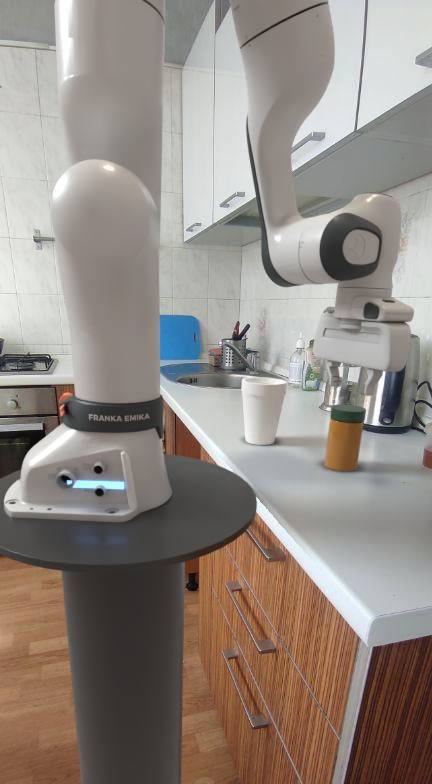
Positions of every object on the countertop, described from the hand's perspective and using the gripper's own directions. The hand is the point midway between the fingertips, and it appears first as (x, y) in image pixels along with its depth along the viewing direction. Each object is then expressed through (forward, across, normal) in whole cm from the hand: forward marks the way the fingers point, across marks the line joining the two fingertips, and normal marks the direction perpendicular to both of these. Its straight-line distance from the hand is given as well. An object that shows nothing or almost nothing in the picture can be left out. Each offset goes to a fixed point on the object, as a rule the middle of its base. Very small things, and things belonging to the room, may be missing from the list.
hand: (350, 390), depth 83 cm
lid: (+4, 0, 0) cm, 4 cm away
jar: (+14, 0, 0) cm, 14 cm away
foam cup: (+14, -19, -6) cm, 25 cm away
